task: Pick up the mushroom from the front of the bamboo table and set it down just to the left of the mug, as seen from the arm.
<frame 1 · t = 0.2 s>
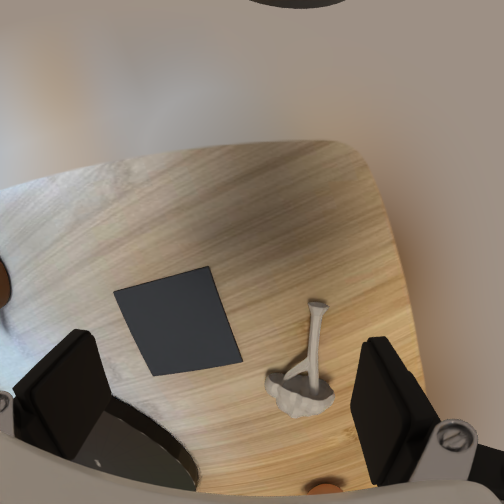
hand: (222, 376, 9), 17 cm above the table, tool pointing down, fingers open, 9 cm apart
coaster: (177, 327, 28), on the table
egg: (322, 485, 34), on the table
disc: (105, 450, 35), on the table
mushroom: (303, 354, 28), on the table
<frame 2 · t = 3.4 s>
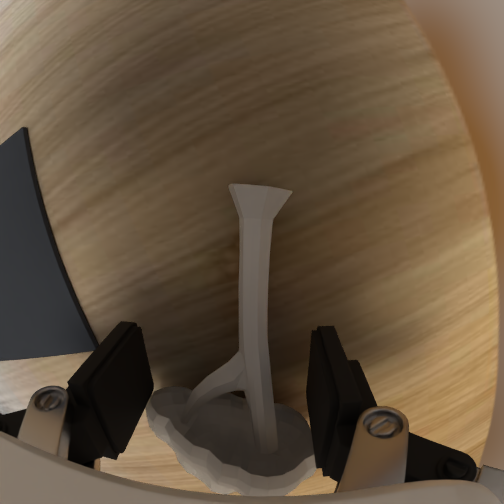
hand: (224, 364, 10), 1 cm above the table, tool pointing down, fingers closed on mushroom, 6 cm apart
mushroom: (241, 345, 11), on the table, touching gripper
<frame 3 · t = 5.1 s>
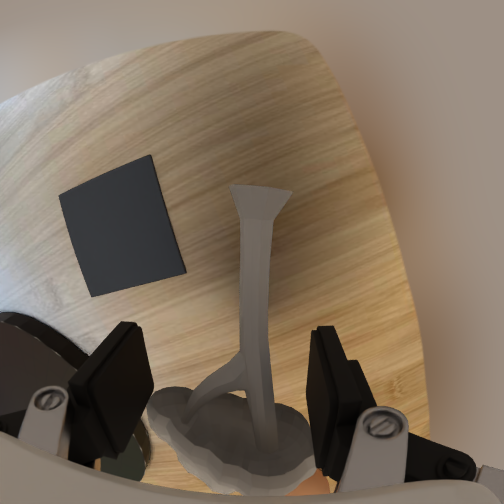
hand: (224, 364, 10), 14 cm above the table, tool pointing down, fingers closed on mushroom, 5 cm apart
coaster: (116, 231, 24), on the table
egg: (298, 465, 30), on the table
disc: (53, 408, 31), on the table
mushroom: (241, 345, 11), point 13 cm above the table, touching gripper
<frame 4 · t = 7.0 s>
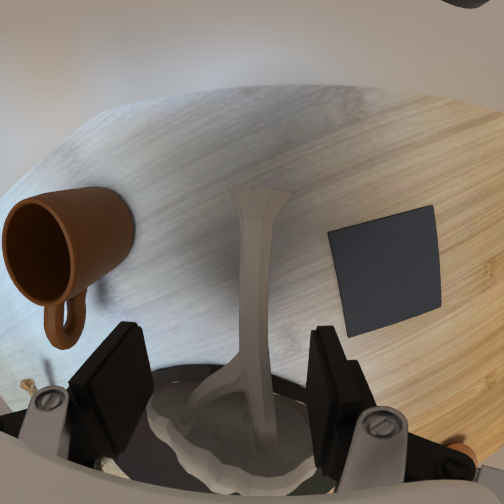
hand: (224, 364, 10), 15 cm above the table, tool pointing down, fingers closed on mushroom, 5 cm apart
coaster: (391, 272, 25), on the table
egg: (446, 447, 31), on the table
mug: (102, 250, 26), on the table
disc: (224, 453, 32), on the table
mushroom: (241, 346, 11), point 14 cm above the table, touching gripper
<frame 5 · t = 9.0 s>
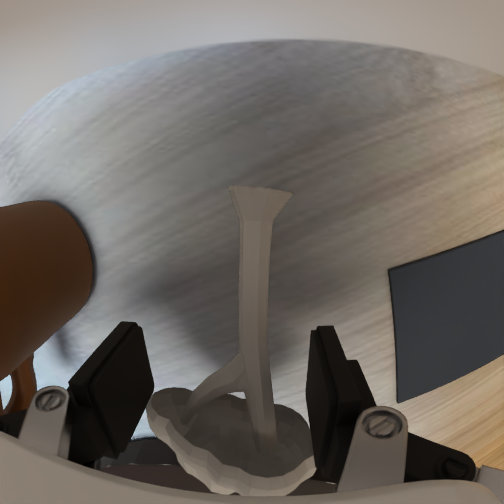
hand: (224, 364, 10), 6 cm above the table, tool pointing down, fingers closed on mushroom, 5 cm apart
coaster: (461, 319, 16), on the table
mug: (56, 290, 17), on the table
mushroom: (241, 346, 11), point 5 cm above the table, touching gripper
when the fingers open (1 cm above the table, at t = 10.6 s): mushroom stays where it is, on the table.
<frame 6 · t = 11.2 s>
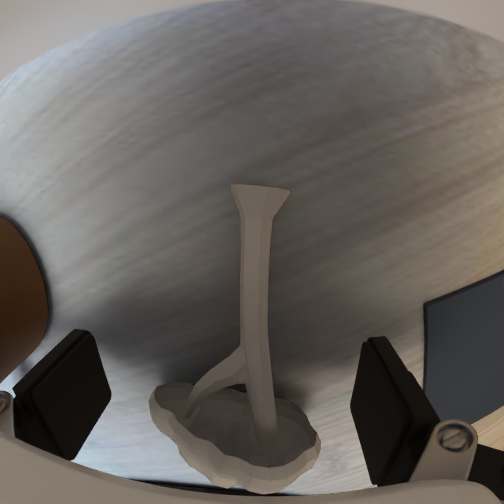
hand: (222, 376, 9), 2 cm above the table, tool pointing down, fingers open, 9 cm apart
coaster: (497, 354, 11), on the table
mug: (14, 319, 12), on the table
mushroom: (242, 340, 12), on the table
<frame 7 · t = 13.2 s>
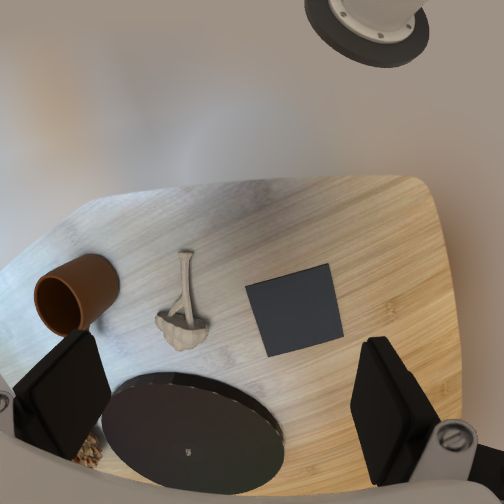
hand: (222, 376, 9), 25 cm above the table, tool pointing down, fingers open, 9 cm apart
coaster: (297, 312, 36), on the table
mug: (98, 295, 37), on the table
pine cone: (77, 412, 43), on the table
disc: (192, 440, 42), on the table
mushroom: (185, 297, 36), on the table
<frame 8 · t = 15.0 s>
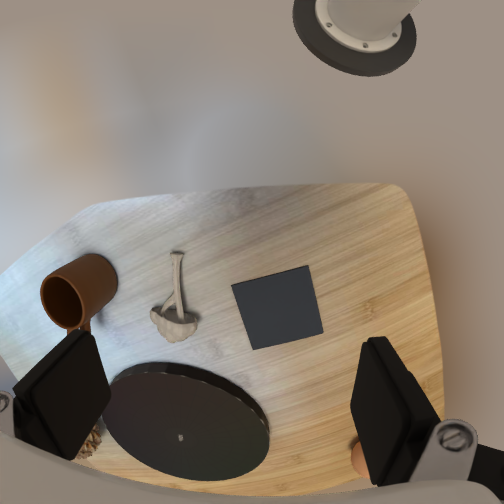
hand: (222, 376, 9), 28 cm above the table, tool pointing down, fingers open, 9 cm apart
coaster: (279, 310, 39), on the table
egg: (364, 440, 46), on the table
mug: (99, 291, 40), on the table
pine cone: (79, 400, 47), on the table
disc: (184, 426, 46), on the table
mushroom: (177, 293, 40), on the table
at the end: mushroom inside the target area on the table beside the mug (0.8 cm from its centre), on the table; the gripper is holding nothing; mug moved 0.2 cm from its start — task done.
